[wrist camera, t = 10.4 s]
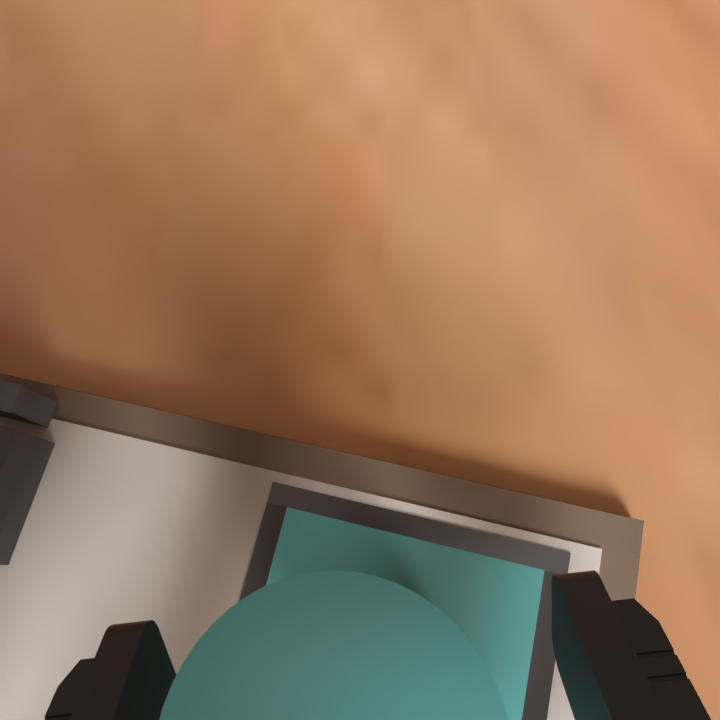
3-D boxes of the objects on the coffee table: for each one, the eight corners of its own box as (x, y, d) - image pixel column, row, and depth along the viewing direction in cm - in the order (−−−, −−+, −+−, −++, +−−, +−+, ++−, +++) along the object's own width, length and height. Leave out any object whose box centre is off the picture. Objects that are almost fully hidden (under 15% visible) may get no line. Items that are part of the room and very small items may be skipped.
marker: (293, 742, 17) (94, 920, 7) (333, 587, 18) (218, 534, 8) (442, 789, 16) (478, 1065, 6) (472, 625, 17) (544, 619, 7)
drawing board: (-340, 865, 18) (-476, 917, 15) (-100, 354, 22) (-173, 322, 20) (554, 1212, 14) (586, 1360, 12) (634, 523, 19) (671, 513, 16)
